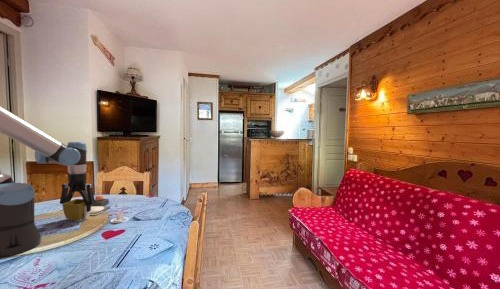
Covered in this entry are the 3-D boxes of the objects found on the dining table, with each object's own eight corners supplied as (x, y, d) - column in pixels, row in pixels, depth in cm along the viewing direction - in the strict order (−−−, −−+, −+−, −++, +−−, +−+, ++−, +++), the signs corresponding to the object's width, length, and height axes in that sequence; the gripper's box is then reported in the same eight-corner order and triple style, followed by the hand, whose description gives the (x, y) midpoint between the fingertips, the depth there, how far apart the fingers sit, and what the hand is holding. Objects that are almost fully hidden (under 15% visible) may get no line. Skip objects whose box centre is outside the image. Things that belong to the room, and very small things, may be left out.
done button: (100, 202, 138) (100, 197, 138) (93, 202, 138) (93, 197, 138) (104, 200, 142) (104, 195, 142) (98, 200, 142) (98, 195, 142)
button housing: (101, 207, 137) (101, 202, 137) (89, 206, 137) (89, 201, 136) (108, 203, 144) (108, 198, 144) (97, 203, 144) (97, 198, 143)
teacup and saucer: (119, 225, 111) (119, 216, 111) (105, 223, 113) (105, 215, 113) (132, 218, 120) (132, 211, 120) (118, 217, 121) (118, 209, 121)
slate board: (95, 215, 122) (95, 213, 122) (70, 215, 122) (70, 213, 122) (110, 208, 135) (110, 206, 135) (87, 207, 135) (87, 205, 135)
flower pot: (79, 222, 112) (79, 204, 112) (61, 222, 112) (61, 203, 112) (92, 216, 121) (92, 199, 121) (75, 215, 121) (75, 198, 121)
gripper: (103, 172, 120) (103, 215, 121) (61, 171, 119) (62, 214, 120) (93, 174, 112) (94, 220, 113) (49, 173, 112) (50, 219, 113)
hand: (77, 217), depth 117 cm, fingers closed on flower pot, 8 cm apart
